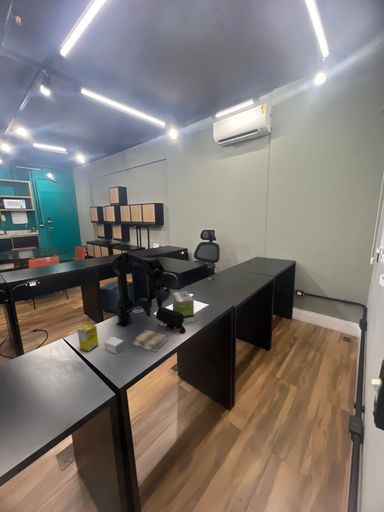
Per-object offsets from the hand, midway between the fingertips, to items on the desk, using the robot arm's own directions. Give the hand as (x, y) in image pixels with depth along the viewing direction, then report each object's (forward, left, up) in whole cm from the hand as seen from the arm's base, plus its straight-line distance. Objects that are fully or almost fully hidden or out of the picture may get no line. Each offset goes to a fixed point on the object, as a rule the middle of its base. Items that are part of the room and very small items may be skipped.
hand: (154, 312), depth 109 cm
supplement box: (-24, -22, -14) cm, 35 cm away
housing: (-12, -17, -14) cm, 25 cm away
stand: (0, -5, -14) cm, 15 cm away
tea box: (+2, +24, -14) cm, 28 cm away
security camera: (+2, +11, -14) cm, 18 cm away
